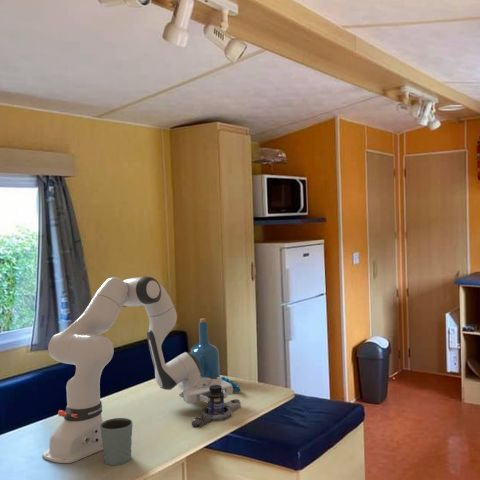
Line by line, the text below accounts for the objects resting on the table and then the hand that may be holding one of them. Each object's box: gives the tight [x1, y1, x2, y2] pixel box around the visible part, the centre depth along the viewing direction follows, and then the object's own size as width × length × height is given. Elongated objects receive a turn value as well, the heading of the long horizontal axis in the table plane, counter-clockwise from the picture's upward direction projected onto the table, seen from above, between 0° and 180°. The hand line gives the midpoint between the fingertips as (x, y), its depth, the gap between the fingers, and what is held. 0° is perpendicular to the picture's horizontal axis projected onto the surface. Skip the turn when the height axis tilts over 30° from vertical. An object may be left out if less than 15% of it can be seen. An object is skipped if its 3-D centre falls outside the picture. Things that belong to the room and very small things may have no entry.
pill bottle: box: [207, 385, 225, 414], centre depth 216 cm, size 6×6×11 cm
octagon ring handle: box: [191, 398, 242, 429], centre depth 217 cm, size 26×11×3 cm, turn 142°
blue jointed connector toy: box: [220, 376, 242, 392], centre depth 244 cm, size 11×6×10 cm
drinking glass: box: [100, 417, 133, 466], centre depth 182 cm, size 10×10×12 cm
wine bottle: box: [190, 317, 221, 379], centre depth 259 cm, size 14×13×30 cm
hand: (217, 397), depth 216 cm, fingers closed on pill bottle, 6 cm apart
